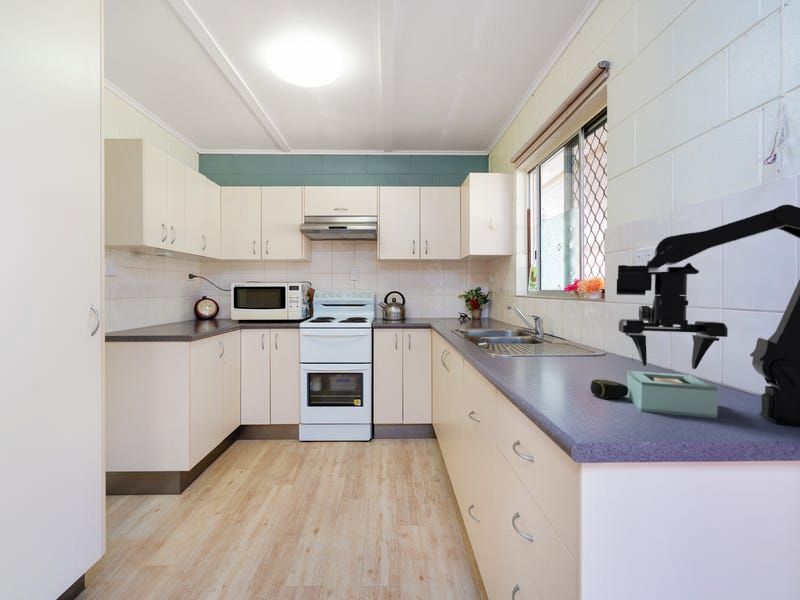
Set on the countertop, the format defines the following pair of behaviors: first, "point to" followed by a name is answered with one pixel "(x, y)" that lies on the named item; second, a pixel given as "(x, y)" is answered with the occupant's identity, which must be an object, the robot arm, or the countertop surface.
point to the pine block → (667, 380)
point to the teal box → (672, 394)
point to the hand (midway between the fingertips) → (668, 367)
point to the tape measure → (608, 389)
